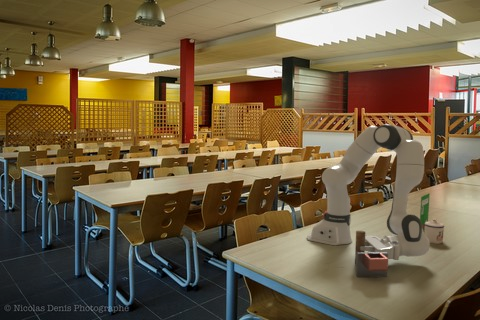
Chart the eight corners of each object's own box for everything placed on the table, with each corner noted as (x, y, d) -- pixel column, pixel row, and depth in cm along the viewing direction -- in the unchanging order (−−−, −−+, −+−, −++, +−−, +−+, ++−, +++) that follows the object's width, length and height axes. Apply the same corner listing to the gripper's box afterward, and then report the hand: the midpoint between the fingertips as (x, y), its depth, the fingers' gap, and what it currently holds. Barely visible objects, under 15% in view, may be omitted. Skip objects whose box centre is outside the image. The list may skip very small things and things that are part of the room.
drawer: (385, 275, 156) (386, 252, 155) (393, 283, 148) (394, 258, 147) (355, 275, 155) (356, 252, 155) (362, 283, 148) (363, 259, 147)
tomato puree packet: (426, 226, 228) (428, 193, 226) (428, 227, 227) (430, 193, 225) (418, 232, 217) (420, 196, 215) (420, 232, 216) (422, 197, 214)
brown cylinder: (354, 264, 167) (355, 232, 166) (355, 261, 171) (356, 230, 169) (363, 265, 166) (364, 233, 164) (364, 262, 169) (366, 231, 168)
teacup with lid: (439, 245, 194) (441, 222, 193) (420, 241, 201) (422, 218, 200) (447, 240, 203) (449, 218, 202) (429, 236, 209) (430, 215, 208)
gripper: (380, 231, 178) (350, 232, 178) (400, 246, 158) (366, 246, 157) (380, 245, 179) (350, 245, 178) (400, 261, 158) (366, 261, 158)
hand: (358, 246), depth 168 cm, fingers closed on brown cylinder, 4 cm apart
